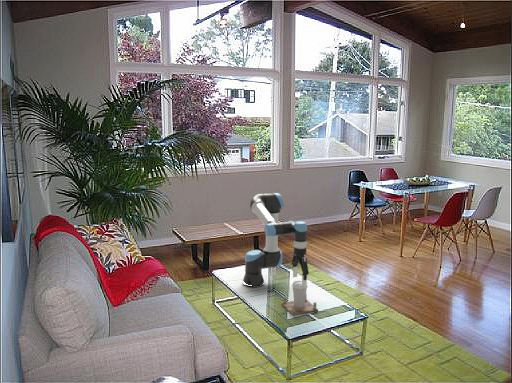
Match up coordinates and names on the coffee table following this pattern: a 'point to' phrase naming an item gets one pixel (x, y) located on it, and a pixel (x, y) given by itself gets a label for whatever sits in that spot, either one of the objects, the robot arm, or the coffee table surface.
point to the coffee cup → (299, 294)
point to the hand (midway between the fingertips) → (299, 280)
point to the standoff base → (297, 311)
